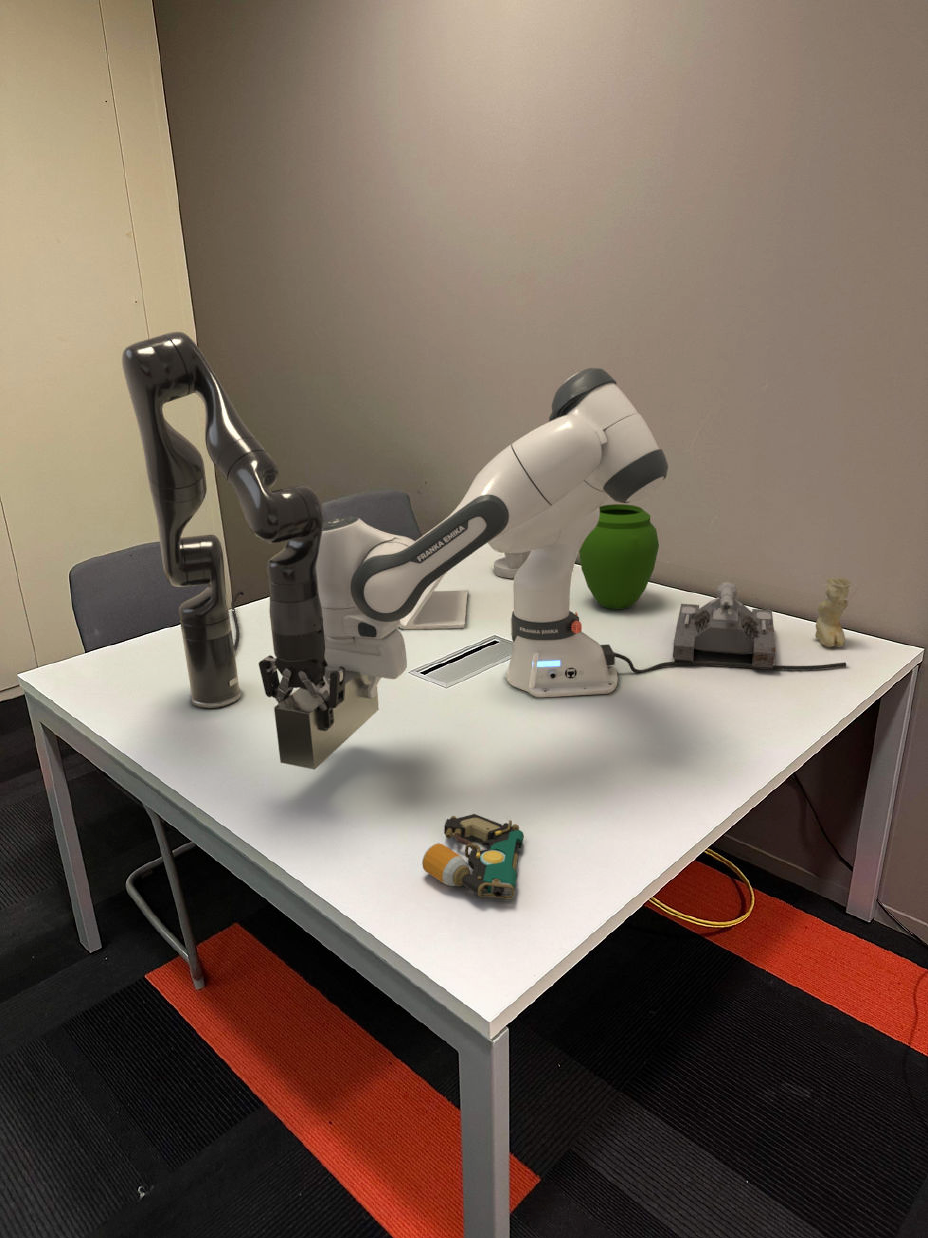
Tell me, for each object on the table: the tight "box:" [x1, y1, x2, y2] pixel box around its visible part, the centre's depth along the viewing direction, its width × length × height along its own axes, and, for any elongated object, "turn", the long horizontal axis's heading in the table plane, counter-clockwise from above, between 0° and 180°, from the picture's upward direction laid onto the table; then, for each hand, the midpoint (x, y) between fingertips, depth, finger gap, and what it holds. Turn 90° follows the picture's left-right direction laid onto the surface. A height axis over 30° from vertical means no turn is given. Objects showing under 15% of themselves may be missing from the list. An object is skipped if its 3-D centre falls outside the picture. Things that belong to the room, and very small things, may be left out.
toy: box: [672, 581, 777, 670], centre depth 184 cm, size 25×20×15 cm
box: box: [273, 670, 380, 771], centre depth 137 cm, size 21×6×10 cm, turn 158°
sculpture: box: [814, 576, 852, 648], centre depth 185 cm, size 6×7×15 cm
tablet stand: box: [398, 572, 468, 630], centre depth 211 cm, size 18×25×17 cm
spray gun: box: [421, 813, 525, 900], centre depth 117 cm, size 4×17×15 cm
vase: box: [578, 503, 660, 610], centre depth 210 cm, size 20×20×24 cm
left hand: (307, 725), depth 131 cm, fingers closed on box, 6 cm apart
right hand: (350, 694), depth 143 cm, fingers closed on box, 6 cm apart
